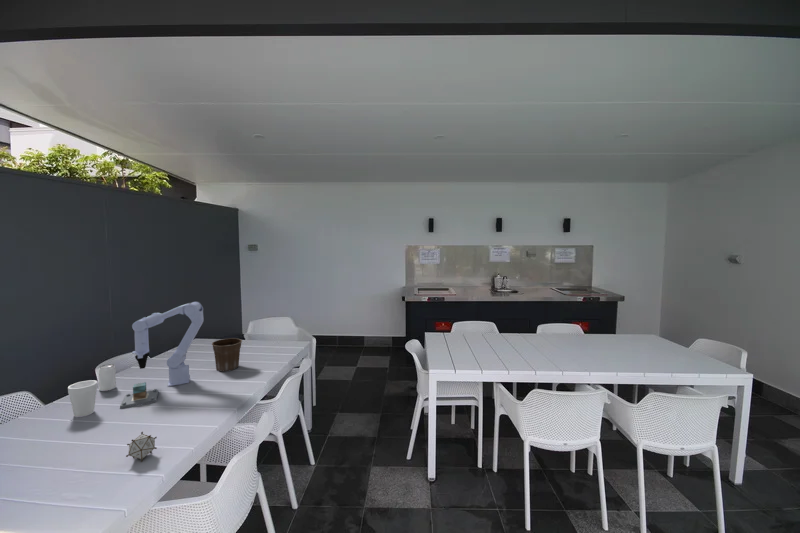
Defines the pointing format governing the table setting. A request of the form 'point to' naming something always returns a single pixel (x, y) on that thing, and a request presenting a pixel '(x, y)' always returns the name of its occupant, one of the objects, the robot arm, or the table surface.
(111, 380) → the grey cylinder
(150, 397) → the plate
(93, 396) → the foam cup
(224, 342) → the plant pot
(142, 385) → the teal and brown block
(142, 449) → the game die
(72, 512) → the table surface
